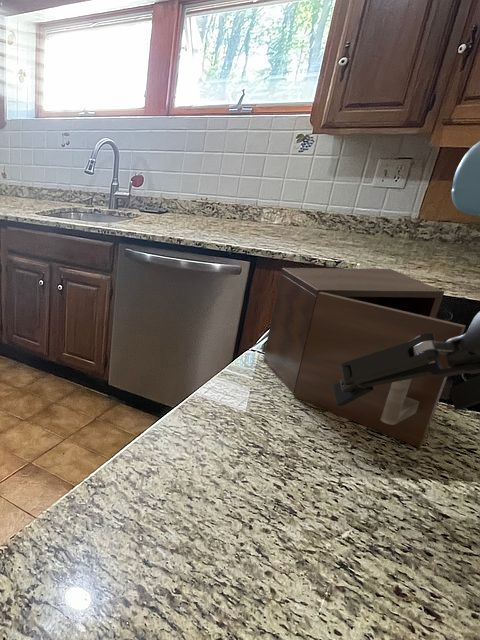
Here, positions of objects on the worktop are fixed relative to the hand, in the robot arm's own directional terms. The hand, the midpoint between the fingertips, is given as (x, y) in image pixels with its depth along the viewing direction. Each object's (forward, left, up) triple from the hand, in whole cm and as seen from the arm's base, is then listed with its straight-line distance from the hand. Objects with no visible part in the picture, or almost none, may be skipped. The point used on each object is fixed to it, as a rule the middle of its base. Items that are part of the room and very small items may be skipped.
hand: (395, 397), depth 65 cm
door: (+8, -5, -10) cm, 14 cm away
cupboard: (+20, -19, -10) cm, 29 cm away
